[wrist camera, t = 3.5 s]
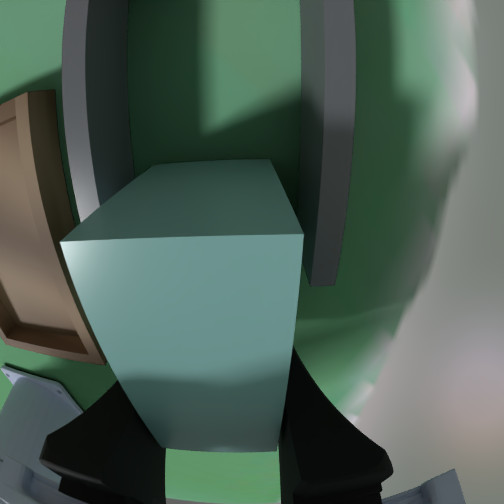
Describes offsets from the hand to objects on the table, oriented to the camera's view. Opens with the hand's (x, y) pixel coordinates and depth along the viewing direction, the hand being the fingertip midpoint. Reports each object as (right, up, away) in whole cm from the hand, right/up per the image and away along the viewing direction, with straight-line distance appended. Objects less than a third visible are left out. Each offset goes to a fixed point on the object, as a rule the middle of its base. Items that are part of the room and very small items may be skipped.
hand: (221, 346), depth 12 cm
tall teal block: (0, +4, 0) cm, 4 cm away
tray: (-11, +5, -1) cm, 11 cm away
